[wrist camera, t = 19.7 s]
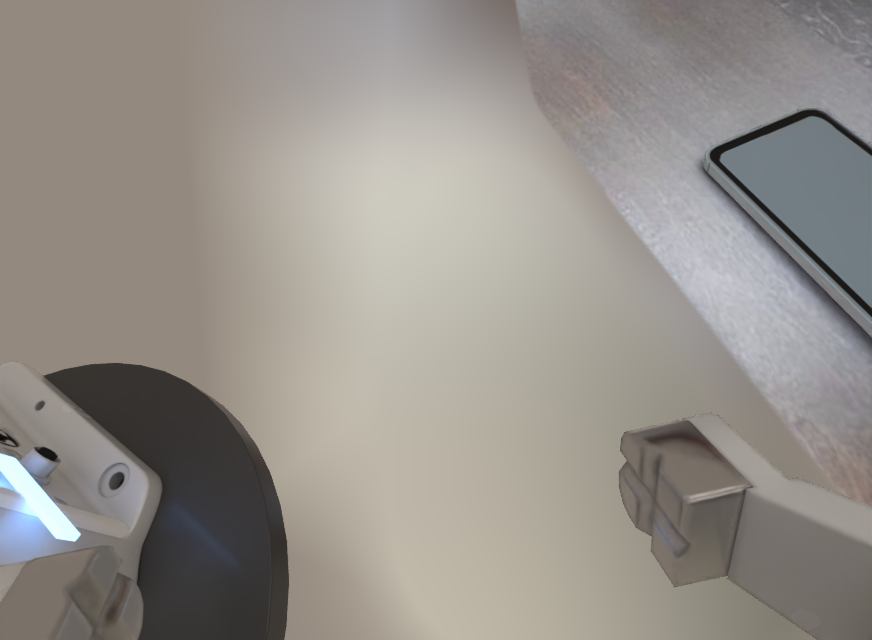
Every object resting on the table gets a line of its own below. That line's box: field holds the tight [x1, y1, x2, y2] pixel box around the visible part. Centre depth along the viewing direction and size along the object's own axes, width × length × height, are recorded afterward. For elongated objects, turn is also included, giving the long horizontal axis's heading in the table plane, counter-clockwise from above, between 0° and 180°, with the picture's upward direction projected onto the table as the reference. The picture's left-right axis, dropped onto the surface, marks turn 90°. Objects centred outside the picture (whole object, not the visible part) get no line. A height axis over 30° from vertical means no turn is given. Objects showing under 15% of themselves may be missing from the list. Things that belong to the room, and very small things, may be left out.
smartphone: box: [703, 107, 872, 337], centre depth 26 cm, size 7×1×15 cm
